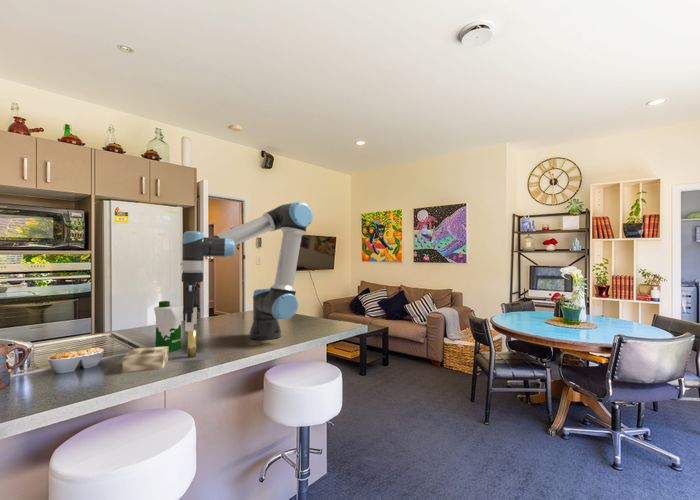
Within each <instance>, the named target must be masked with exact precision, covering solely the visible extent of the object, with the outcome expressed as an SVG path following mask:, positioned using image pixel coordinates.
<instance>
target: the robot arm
mask: <svg viewBox="0 0 700 500" xmlns="http://www.w3.org/2000/svg"><path fill="white" fill-rule="evenodd" d="M313 215H314V214H313V211H312V209H311V208H310V206H309V205H308V204H307V203H305V202H303V201H294V202H292V203H291V202H290V203H286V204H284V203H283V204H281V205H278V206H277V207H275V208H273V209H271V210H269V211H267V212H264V213H263V214H262V216H260V217H257V218H254V219H252V220H250V221H248V222H247V221H246V222H244V223H243V224H240V225H237V226H234V227H232V228H230V229H227V230H225V231H222V232H219V233H217V234H215V235H212V236H210V237H206V236H205V233H204V232H203V231H194V230H193V231H191V230H190V231H189V230H187V231H185V232H184V233H183V234H182V259H181V260H182V261H181V262H180V266H181V270H182V273H181V282H182V283H188V284H187V285H186V288H185V304H184V305H185V309H184V310H182V313H183V314H185V316H184V319H185V320H184V321H185V322H184V332H188V331H193V330H194V325H197V324H198V323H197V321H198V308H200V304H198V294H199V286H198V283H202V282H204V273H203V271H204V267H205V266H204V263H205V262H204V261H205V260H204V259H205V258H207V257H212V258H213V257H215V258H217V257H219V258H228V257H229V258H230V257H233V256H234V254H235V251H236V246H237V245H239V244H242V243H244V242H246V241H248V240H250V239H253V238H255V237H258V236H260V235H262V234H265V233H267V232H271V233H273V232H274V231H277V230H281V231H282V233H283V234H282V239H281V244H280V250H279V256H278V262H277V267H276V273H275V279H274V284H272V285H271V286H270V287H269V288H259V289H257V288H256V289H255V290H254V291H253V294H252V295H253V296H252V299H253V300H252V301H253V303H252V305H253V307H252V311H253V312H252V318H253V319H252V320H253V321H252V323H251V327H250V329H249V332H248V336H249V338H250V339H252V340H257V341H268V340H269V341H270V340H274V339H278V338H281V337H282V328H281V326H280V321H279V320H282V321H283V320H285V321H286V320H289V319H291V318H292V317H294V316H295V315H296V313H297V311H298V309H299V300H298V299H297V298H298V297H296V289H295V287H294V284H295V278H296V273H297V272H296V271H297V266H298V261H299V254H300V250H301V242H302V237H303V236H304V235H305V234H306V232H307V227H309V226H310V225H311V224H312V221H313V218H314V216H313ZM204 257H205V258H204Z"/></svg>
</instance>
